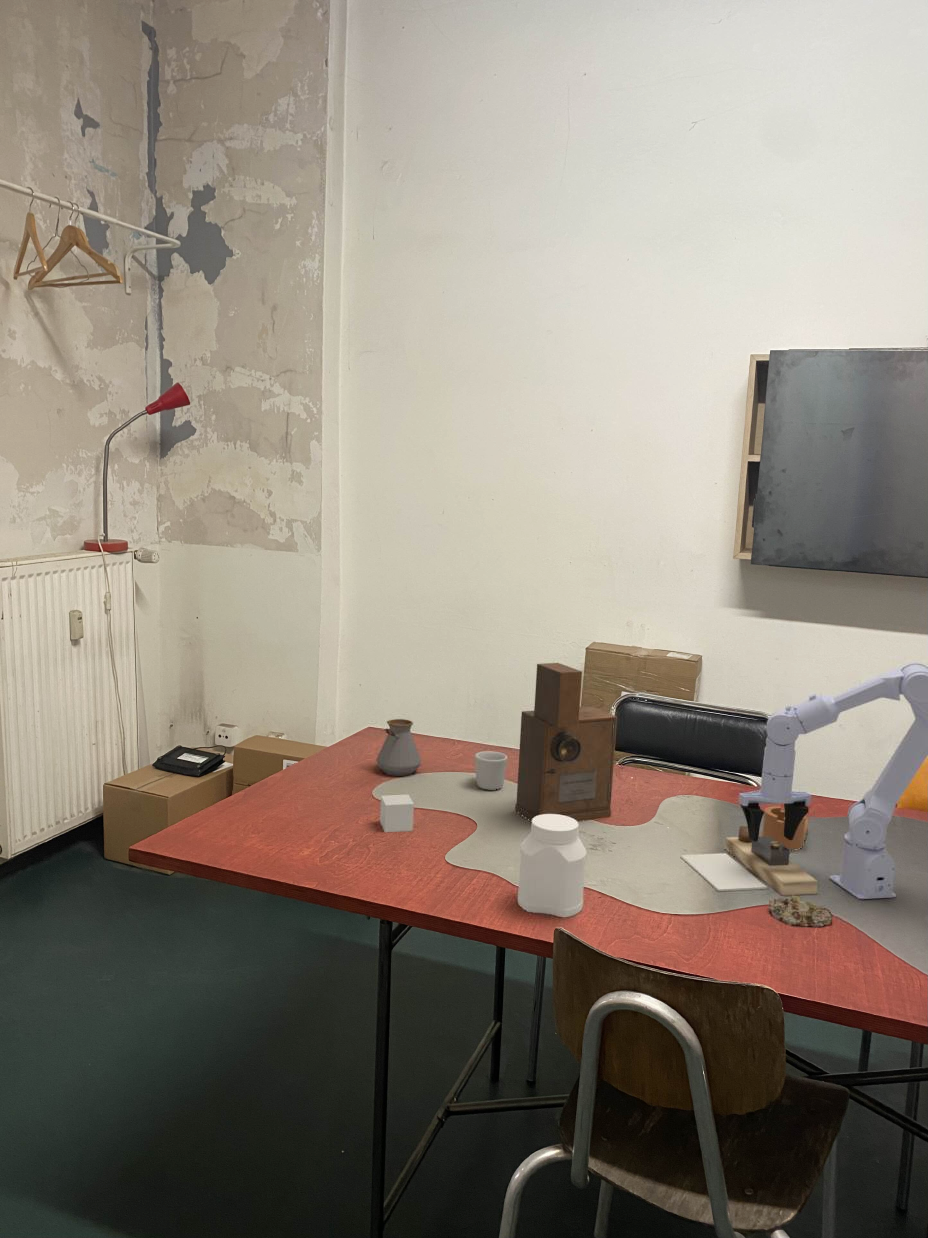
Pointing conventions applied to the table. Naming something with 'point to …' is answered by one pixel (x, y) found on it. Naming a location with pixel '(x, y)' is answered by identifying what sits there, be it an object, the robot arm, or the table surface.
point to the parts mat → (723, 872)
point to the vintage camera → (565, 750)
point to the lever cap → (770, 851)
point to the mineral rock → (799, 912)
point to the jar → (552, 867)
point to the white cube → (396, 813)
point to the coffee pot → (399, 749)
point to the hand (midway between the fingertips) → (770, 839)
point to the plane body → (771, 868)
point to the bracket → (775, 828)
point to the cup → (490, 769)
